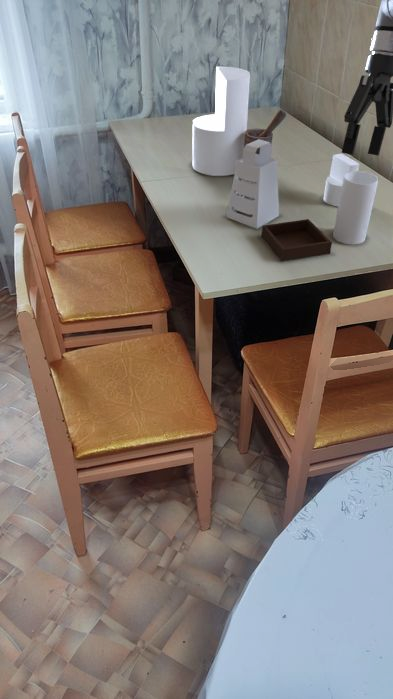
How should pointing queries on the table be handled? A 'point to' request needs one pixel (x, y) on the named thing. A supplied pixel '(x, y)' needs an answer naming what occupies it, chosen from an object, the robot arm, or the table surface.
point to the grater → (255, 186)
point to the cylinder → (222, 125)
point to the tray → (296, 240)
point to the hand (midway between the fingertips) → (360, 154)
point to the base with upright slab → (338, 177)
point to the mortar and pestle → (264, 131)
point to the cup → (355, 207)
